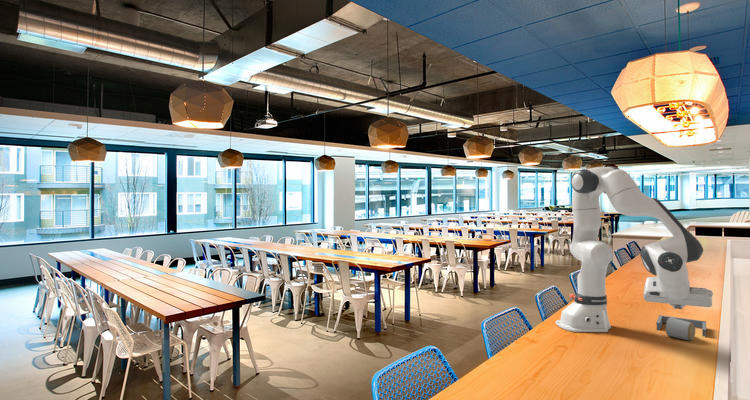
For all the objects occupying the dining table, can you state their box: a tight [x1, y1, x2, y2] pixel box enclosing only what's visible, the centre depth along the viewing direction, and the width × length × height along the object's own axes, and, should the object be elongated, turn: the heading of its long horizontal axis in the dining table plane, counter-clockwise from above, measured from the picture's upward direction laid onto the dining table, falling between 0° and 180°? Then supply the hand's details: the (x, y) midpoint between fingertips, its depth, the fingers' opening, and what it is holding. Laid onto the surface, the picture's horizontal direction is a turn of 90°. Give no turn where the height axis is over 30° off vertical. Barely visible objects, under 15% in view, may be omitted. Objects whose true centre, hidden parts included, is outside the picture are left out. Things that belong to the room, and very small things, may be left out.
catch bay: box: [655, 314, 707, 338], centre depth 169 cm, size 14×16×3 cm
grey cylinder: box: [665, 316, 696, 342], centre depth 159 cm, size 11×8×8 cm
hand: (678, 307), depth 149 cm, fingers closed
